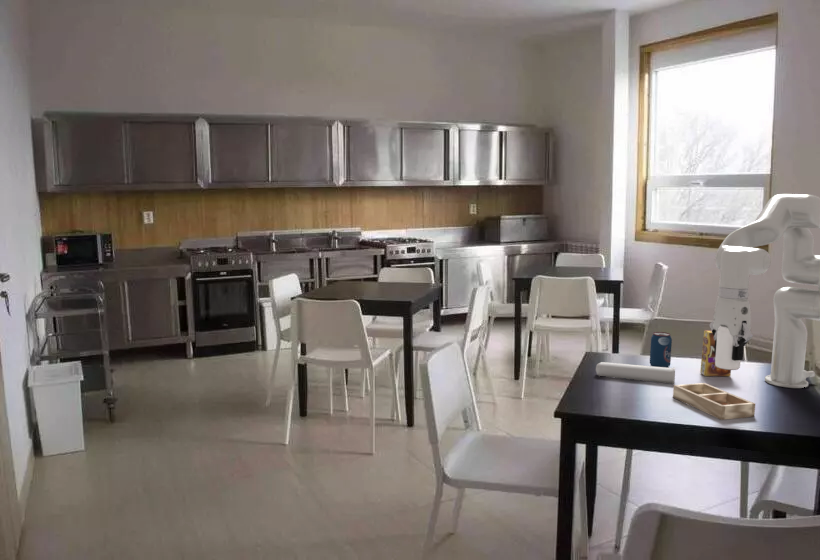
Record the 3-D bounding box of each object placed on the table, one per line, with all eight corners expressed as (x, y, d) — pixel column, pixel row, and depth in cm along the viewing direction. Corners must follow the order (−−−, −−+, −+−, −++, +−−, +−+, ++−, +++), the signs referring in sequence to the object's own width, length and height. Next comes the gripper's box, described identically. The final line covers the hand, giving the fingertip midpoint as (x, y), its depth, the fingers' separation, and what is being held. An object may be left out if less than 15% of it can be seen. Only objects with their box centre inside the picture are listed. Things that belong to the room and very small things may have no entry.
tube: (594, 366, 235) (675, 373, 226) (596, 358, 239) (675, 364, 231) (594, 380, 237) (674, 387, 229) (596, 371, 242) (674, 378, 233)
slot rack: (703, 394, 217) (704, 382, 217) (754, 416, 197) (755, 403, 197) (672, 397, 214) (673, 385, 214) (721, 419, 194) (722, 406, 194)
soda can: (669, 370, 246) (671, 336, 244) (648, 367, 249) (650, 334, 247) (671, 365, 252) (673, 332, 250) (650, 363, 255) (652, 330, 253)
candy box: (705, 376, 238) (708, 332, 236) (699, 373, 242) (702, 329, 240) (731, 376, 238) (734, 332, 236) (725, 373, 243) (728, 329, 241)
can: (742, 371, 196) (745, 328, 194) (717, 369, 197) (720, 327, 195) (736, 365, 202) (740, 323, 200) (712, 363, 203) (715, 322, 201)
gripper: (767, 298, 189) (762, 363, 192) (722, 288, 206) (718, 349, 208) (744, 299, 187) (739, 365, 190) (700, 289, 204) (696, 350, 206)
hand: (728, 356), depth 199 cm, fingers closed on can, 6 cm apart
